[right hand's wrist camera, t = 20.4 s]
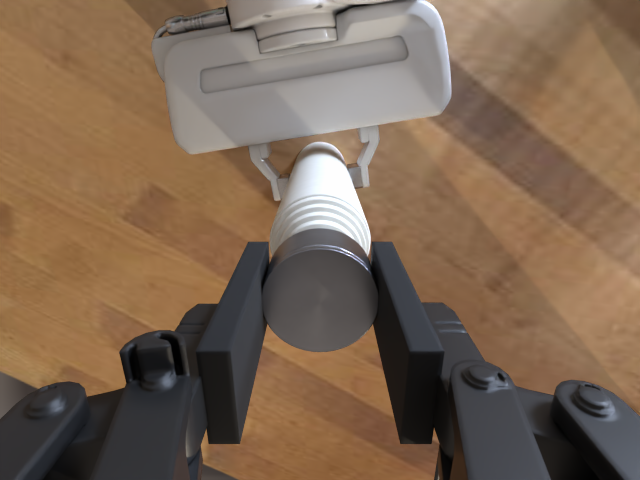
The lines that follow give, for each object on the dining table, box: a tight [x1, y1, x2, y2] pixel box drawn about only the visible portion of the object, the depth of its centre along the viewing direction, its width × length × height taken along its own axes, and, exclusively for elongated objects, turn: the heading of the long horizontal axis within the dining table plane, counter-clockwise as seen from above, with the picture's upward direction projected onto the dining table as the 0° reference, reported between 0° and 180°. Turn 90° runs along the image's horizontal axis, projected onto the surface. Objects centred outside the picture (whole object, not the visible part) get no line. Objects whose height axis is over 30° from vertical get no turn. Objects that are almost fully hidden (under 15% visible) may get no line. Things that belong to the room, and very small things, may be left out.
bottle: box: [270, 142, 371, 257], centre depth 25 cm, size 5×5×24 cm
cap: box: [262, 228, 379, 352], centre depth 14 cm, size 4×4×2 cm
